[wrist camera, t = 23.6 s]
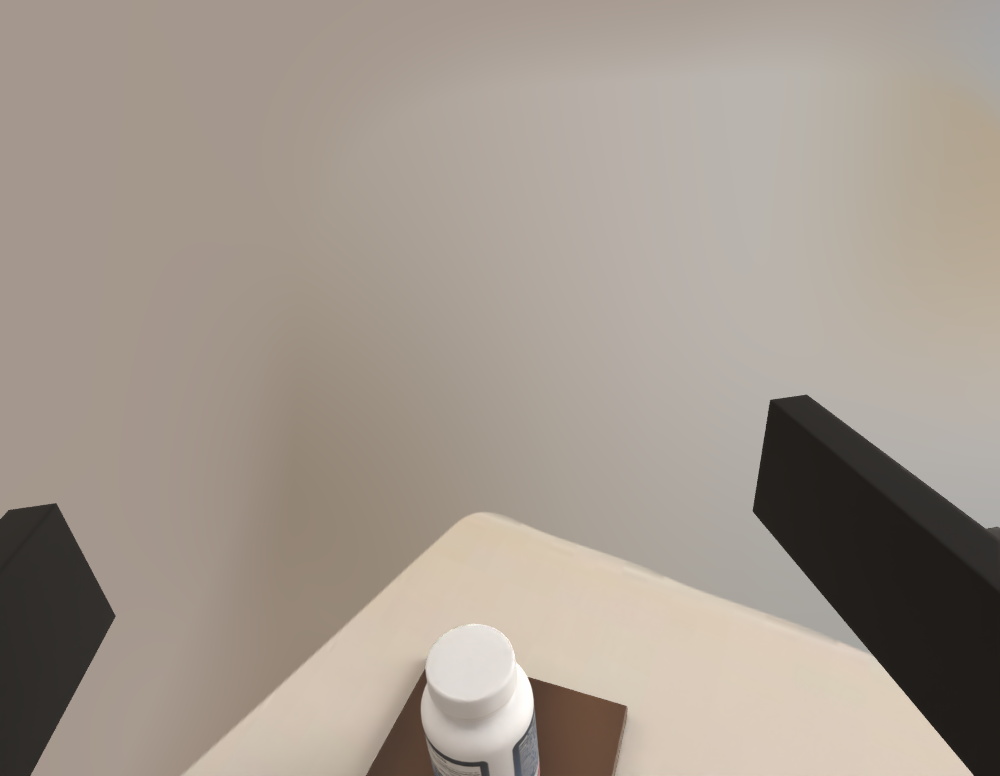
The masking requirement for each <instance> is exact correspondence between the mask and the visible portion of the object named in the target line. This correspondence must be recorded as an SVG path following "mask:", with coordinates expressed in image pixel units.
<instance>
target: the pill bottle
mask: <svg viewBox="0 0 1000 776" xmlns="http://www.w3.org/2000/svg"><path fill="white" fill-rule="evenodd" d="M425 671H426V678H427V684H426V686H425V689H424V692H423V696H422V700H421V719H422V725H423V730H424V733H425V737H426V741H427V746H428V750H429V754H430V759H431V763H432V768H433V772H434V776H540V762H539V752H538V741H537V730H536V719H535V708H534V699H533V693H532V688H531V685H530V682H529V679H528V677H527V676H526V674H525V672H524V671H523V670H522V668H521V667H520V666H519V665H518V664H517V663H516V661H515V655H514V651H513V648H512V645H511V643H510V642H509V640H508V639H507V638H506V636H505V635H504V634H503V633H501V632H500V631H498V630H497V629H495V628H493V627H490V626H487V625H482V624H467V625H463V626H459V627H456V628H454V629H452V630H450V631H448V632H446V633H445V634H443V635H442V636H441V637H440V638H439V639H438V640H437V641H436V642H435V643H434V644H433V646H432V647H431V649H430V651H429V653H428V656H427V659H426V665H425Z"/></svg>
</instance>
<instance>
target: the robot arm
mask: <svg viewBox="0 0 1000 776" xmlns="http://www.w3.org/2000/svg"><path fill="white" fill-rule="evenodd" d="M753 512H754V514H755V515H756V516H757V517H758V518H759V519H760V521H761V522H762V523H763V524H764V525H765V527H766V528H767V529H768V530H769V531H770V533H771V534H772V535H773V536H774V537H775V539H776V540H777V541H778V542H779V543H780V545H781V546H782V547H783V548H784V549H785V551H786V552H787V553H788V554H789V555H790V556H791V558H792V559H793V560H794V561H795V562H796V564H797V565H798V566H799V567H800V568H801V570H802V571H803V572H804V573H805V574H806V576H807V577H808V578H809V579H810V580H811V581H812V582H813V584H814V585H815V586H816V587H817V589H818V590H819V591H820V592H821V593H822V595H823V596H824V597H825V598H826V599H827V601H828V602H829V603H830V604H831V605H832V607H833V608H834V609H835V610H836V611H837V612H838V614H839V615H840V616H841V617H842V618H843V620H844V621H845V622H846V623H847V624H848V626H849V627H850V628H851V629H852V630H853V632H854V633H855V634H856V635H857V636H858V638H859V639H860V640H861V641H862V642H863V644H864V645H865V646H866V647H867V648H868V650H869V651H870V652H871V653H872V654H873V656H874V657H875V658H876V659H877V660H878V662H879V663H880V664H881V665H882V666H883V667H884V669H885V670H886V671H887V672H888V673H889V675H890V676H891V677H892V678H893V679H894V681H895V682H896V683H897V684H898V685H899V687H900V688H901V689H902V690H903V691H904V693H905V694H906V695H907V696H908V697H909V699H910V700H911V701H912V702H913V703H914V704H915V706H916V707H917V708H918V709H919V710H920V712H921V713H922V714H923V715H924V716H925V718H926V719H927V720H928V721H929V722H930V724H931V725H932V726H933V727H934V728H935V730H936V731H937V732H938V733H939V734H940V736H941V737H942V738H943V739H944V740H945V741H946V743H947V744H948V745H949V746H950V747H951V749H952V750H953V751H954V752H955V753H956V755H957V756H958V757H959V758H960V759H961V761H962V762H963V763H964V764H965V765H966V767H967V768H968V769H969V770H970V771H971V772H972V774H973V775H974V776H1000V528H999V527H994V528H988V529H985V528H984V527H983V526H981V525H980V524H979V523H977V522H976V521H974V520H973V519H972V518H971V517H969V516H968V515H966V514H965V513H964V512H963V511H961V510H960V509H958V508H957V507H956V506H955V505H953V504H952V503H950V502H949V501H948V500H947V499H945V498H944V497H943V496H941V495H940V494H939V493H937V492H936V491H934V490H933V489H932V488H931V487H929V486H928V485H927V484H925V483H924V482H923V481H921V480H920V479H918V478H917V477H916V476H914V475H913V474H912V473H911V472H909V471H908V470H907V469H905V468H904V467H903V466H901V465H900V464H899V463H897V462H896V461H895V460H893V459H892V458H890V457H889V456H888V455H887V454H885V453H884V452H883V451H881V450H880V449H879V448H877V447H876V446H874V445H873V444H872V443H870V442H869V441H868V440H866V439H865V438H864V437H863V436H861V435H860V434H859V433H857V432H856V431H854V430H853V429H852V428H851V427H849V426H848V425H846V424H845V423H844V422H842V421H841V420H840V419H839V418H837V417H835V415H833V414H832V413H831V412H829V411H828V410H827V409H825V408H824V407H822V406H821V405H820V404H819V403H817V402H816V401H815V400H813V399H812V398H811V397H809V396H808V395H801V396H794V397H787V398H781V399H774V400H770V405H769V411H768V417H767V424H766V431H765V437H764V443H763V449H762V455H761V462H760V468H759V474H758V481H757V487H756V493H755V500H754V507H753ZM114 618H115V614H114V612H113V610H112V608H111V607H110V605H109V603H108V601H107V599H106V597H105V595H104V593H103V591H102V590H101V588H100V586H99V584H98V582H97V580H96V578H95V576H94V574H93V572H92V570H91V568H90V567H89V565H88V563H87V561H86V559H85V557H84V555H83V553H82V551H81V549H80V548H79V546H78V544H77V542H76V540H75V538H74V536H73V534H72V532H71V531H70V528H69V527H68V525H67V523H66V521H65V519H64V517H63V515H62V513H61V511H60V510H59V508H58V506H57V504H56V503H55V504H48V505H41V506H34V507H27V508H20V509H13V510H8V512H7V513H6V514H5V515H4V516H3V517H2V518H1V519H0V776H30V775H31V773H32V772H33V770H34V768H35V766H36V764H37V762H38V760H39V758H40V757H41V755H42V753H43V751H44V749H45V747H46V745H47V743H48V742H49V740H50V738H51V736H52V734H53V732H54V730H55V729H56V726H57V725H58V723H59V721H60V719H61V717H62V715H63V714H64V712H65V710H66V708H67V706H68V704H69V702H70V700H71V699H72V697H73V695H74V693H75V691H76V689H77V687H78V686H79V684H80V682H81V680H82V678H83V676H84V674H85V672H86V671H87V669H88V667H89V665H90V663H91V661H92V659H93V658H94V656H95V654H96V652H97V650H98V648H99V646H100V644H101V643H102V640H103V639H104V637H105V635H106V633H107V631H108V629H109V628H110V626H111V624H112V622H113V620H114Z"/></svg>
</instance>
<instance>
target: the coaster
mask: <svg viewBox="0 0 1000 776" xmlns="http://www.w3.org/2000/svg"><path fill="white" fill-rule="evenodd" d="M528 679H529V682H530V685H531V688H532V693H533V699H534V708H535V719H536V730H537V741H538V752H539V762H540V776H615V771H616V766H617V761H618V756H619V752H620V747H621V742H622V737H623V732H624V727H625V723H626V718H627V706H624V705H621V704H618V703H614V702H611V701H608V700H604V699H601V698H597V697H594V696H591V695H587V694H584V693H580V692H577V691H574V690H570V689H567V688H564V687H560V686H557V685H553V684H550V683H547V682H543V681H540V680H536V679H533V678H530V677H528ZM426 684H427V678H426V671H425V670H424V672H423V673H422V675H421V677H420V679H419V681H418V683H417V684H416V686H415V688H414V690H413V692H412V693H411V695H410V697H409V699H408V701H407V702H406V704H405V706H404V708H403V710H402V711H401V713H400V715H399V717H398V719H397V721H396V722H395V724H394V726H393V728H392V730H391V731H390V733H389V735H388V737H387V739H386V740H385V742H384V744H383V746H382V748H381V749H380V751H379V753H378V755H377V757H376V759H375V760H374V762H373V764H372V766H371V768H370V769H369V771H368V773H367V775H366V776H434V772H433V768H432V763H431V759H430V754H429V750H428V746H427V741H426V737H425V733H424V730H423V725H422V719H421V700H422V696H423V692H424V689H425V686H426Z"/></svg>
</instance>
